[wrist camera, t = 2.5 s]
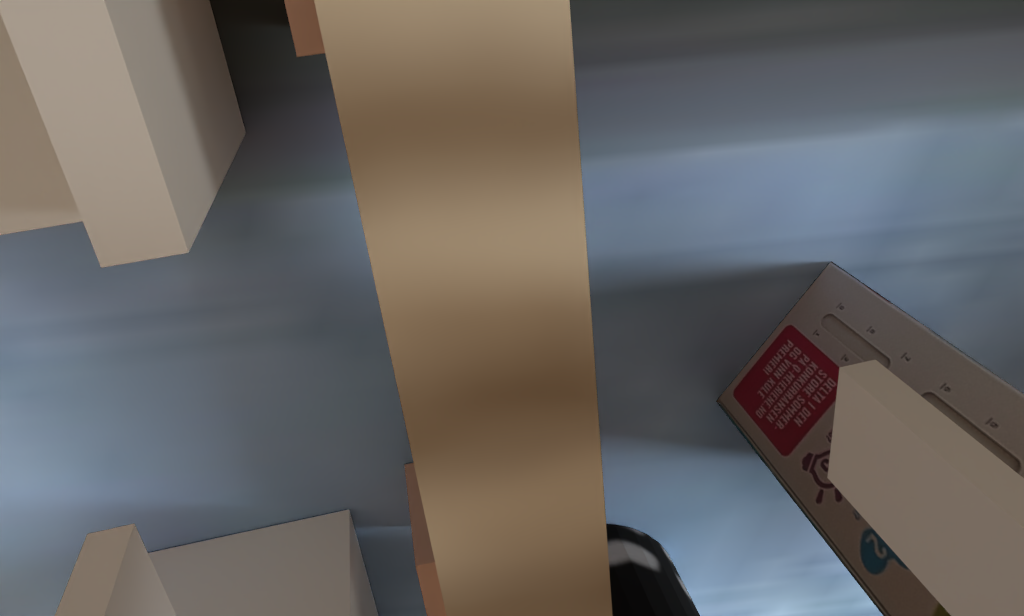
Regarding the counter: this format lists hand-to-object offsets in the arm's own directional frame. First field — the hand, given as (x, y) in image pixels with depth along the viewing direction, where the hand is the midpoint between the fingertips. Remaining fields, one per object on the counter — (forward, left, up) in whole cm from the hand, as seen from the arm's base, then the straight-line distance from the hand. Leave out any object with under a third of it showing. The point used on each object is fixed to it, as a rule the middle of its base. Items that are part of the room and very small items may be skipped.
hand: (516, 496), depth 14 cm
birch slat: (0, 0, -7) cm, 7 cm away
